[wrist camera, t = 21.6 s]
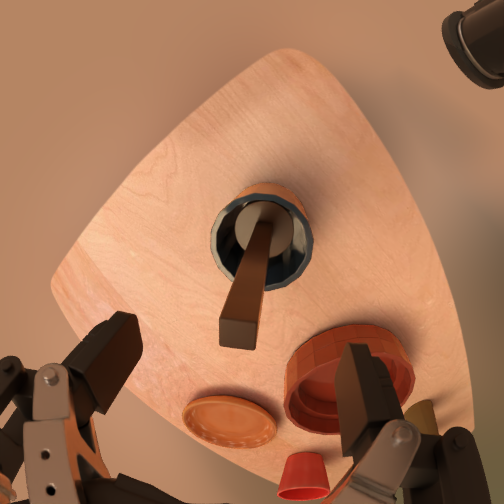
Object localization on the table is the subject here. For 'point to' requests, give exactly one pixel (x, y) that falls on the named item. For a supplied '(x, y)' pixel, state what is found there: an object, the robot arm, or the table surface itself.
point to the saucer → (229, 422)
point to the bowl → (324, 368)
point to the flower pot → (304, 478)
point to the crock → (280, 266)
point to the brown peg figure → (423, 417)
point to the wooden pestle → (253, 270)
